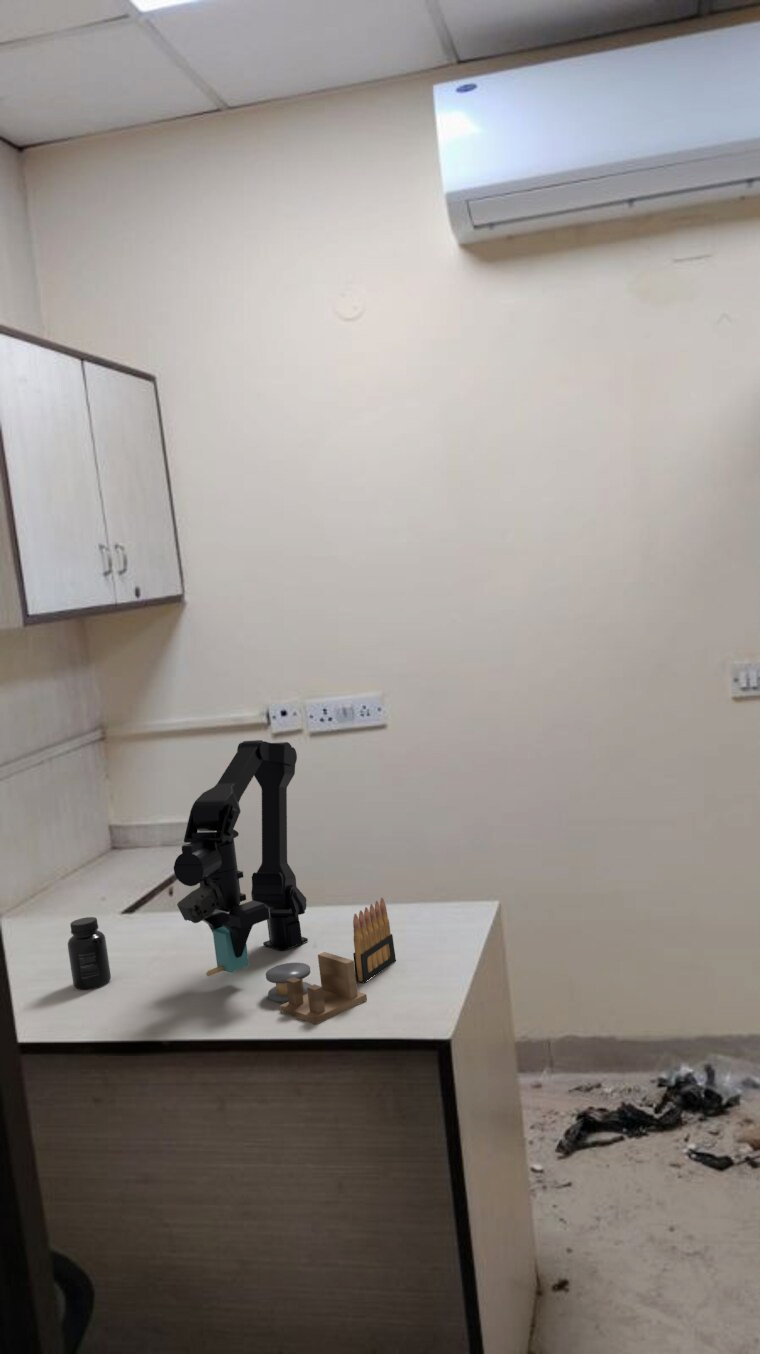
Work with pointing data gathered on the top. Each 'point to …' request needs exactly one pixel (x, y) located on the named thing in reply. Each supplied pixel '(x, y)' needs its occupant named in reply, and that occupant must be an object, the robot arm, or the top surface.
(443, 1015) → the top surface
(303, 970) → the spool
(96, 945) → the supplement bottle
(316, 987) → the notch board
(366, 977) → the ammunition clip
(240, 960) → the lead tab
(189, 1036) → the top surface
